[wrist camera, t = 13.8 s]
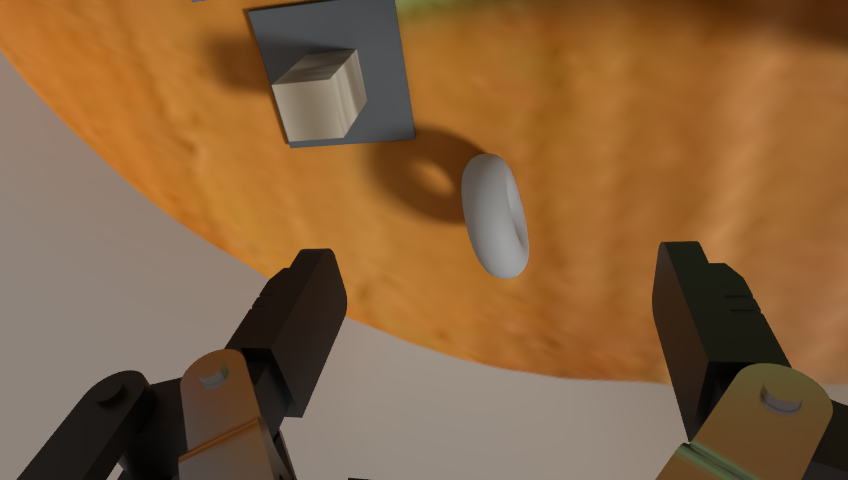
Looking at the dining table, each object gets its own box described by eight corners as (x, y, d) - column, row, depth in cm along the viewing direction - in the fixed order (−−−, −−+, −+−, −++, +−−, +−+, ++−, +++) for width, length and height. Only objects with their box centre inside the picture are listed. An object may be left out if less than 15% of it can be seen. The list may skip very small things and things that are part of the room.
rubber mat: (393, -9, 36) (391, -7, 35) (415, 136, 42) (414, 139, 41) (251, 10, 38) (247, 12, 37) (292, 145, 44) (290, 148, 43)
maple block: (356, 49, 38) (329, 79, 32) (367, 100, 40) (343, 137, 34) (306, 54, 39) (271, 85, 33) (319, 105, 41) (289, 141, 35)
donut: (460, 138, 41) (448, 201, 33) (501, 126, 40) (498, 189, 32) (495, 234, 47) (491, 309, 38) (532, 226, 45) (536, 301, 37)
